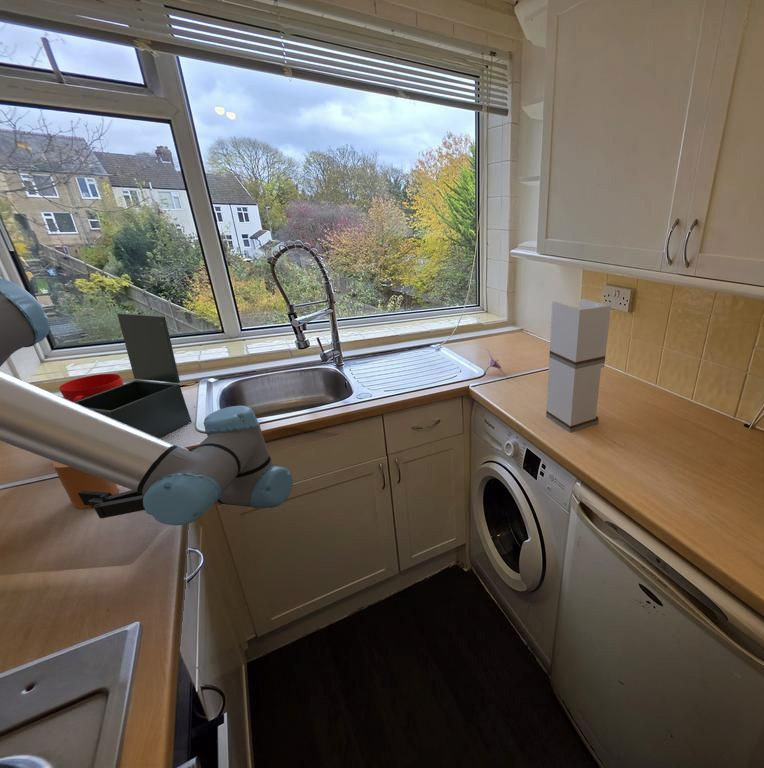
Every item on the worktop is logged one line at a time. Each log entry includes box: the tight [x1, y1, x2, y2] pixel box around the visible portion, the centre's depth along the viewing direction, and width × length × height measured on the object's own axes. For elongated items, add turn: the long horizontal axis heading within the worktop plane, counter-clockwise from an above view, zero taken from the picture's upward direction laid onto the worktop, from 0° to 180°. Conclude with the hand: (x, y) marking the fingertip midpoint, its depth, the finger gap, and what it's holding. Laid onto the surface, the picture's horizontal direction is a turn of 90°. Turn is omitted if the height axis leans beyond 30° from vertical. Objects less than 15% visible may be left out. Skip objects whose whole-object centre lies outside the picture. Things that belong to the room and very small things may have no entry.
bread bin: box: [74, 379, 192, 439], centre depth 108 cm, size 18×15×12 cm
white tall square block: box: [545, 298, 612, 433], centre depth 115 cm, size 11×11×35 cm
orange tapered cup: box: [52, 461, 120, 510], centre depth 84 cm, size 7×7×10 cm
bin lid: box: [116, 312, 181, 384], centre depth 111 cm, size 18×15×1 cm
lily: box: [483, 348, 505, 376], centre depth 154 cm, size 12×12×10 cm
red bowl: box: [58, 373, 124, 402], centre depth 118 cm, size 13×17×10 cm
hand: (121, 476), depth 81 cm, fingers open, 13 cm apart
